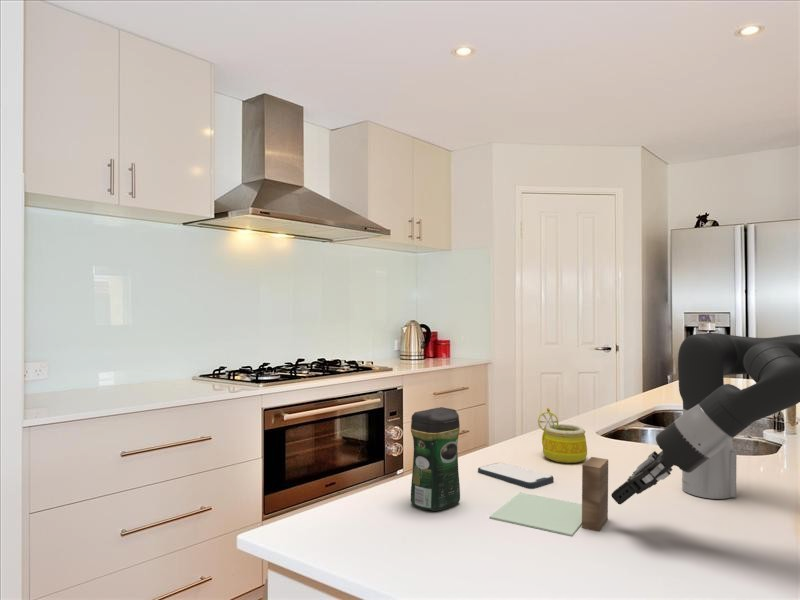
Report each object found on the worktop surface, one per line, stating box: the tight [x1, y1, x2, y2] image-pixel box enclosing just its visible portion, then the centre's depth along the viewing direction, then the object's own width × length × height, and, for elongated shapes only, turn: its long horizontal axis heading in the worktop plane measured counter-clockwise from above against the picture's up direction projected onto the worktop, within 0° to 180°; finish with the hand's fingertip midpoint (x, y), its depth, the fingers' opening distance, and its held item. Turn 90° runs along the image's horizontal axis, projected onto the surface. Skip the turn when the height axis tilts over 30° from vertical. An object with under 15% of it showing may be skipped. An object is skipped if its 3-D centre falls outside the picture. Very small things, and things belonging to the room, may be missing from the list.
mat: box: [489, 492, 582, 537], centre depth 109 cm, size 15×16×1 cm
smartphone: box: [477, 462, 554, 490], centre depth 132 cm, size 9×2×16 cm
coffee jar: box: [410, 406, 461, 512], centre depth 114 cm, size 10×8×19 cm
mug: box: [537, 407, 588, 464], centre depth 148 cm, size 13×11×12 cm
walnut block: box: [581, 456, 609, 532], centre depth 104 cm, size 3×6×11 cm, turn 148°
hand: (615, 499), depth 102 cm, fingers closed
